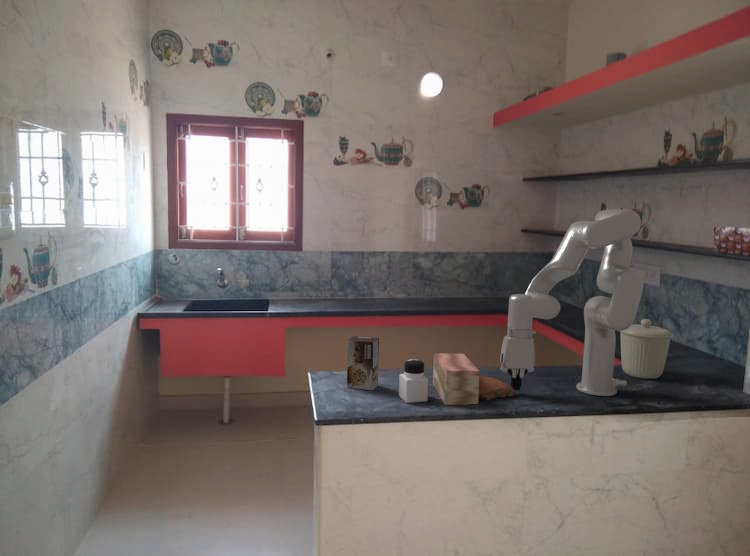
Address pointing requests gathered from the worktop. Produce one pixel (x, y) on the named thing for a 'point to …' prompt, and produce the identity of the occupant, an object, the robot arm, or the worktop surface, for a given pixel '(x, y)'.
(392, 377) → the worktop surface
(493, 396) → the ceramic shard
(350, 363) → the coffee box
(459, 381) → the overhang bay
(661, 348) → the canister
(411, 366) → the medicine bottle
